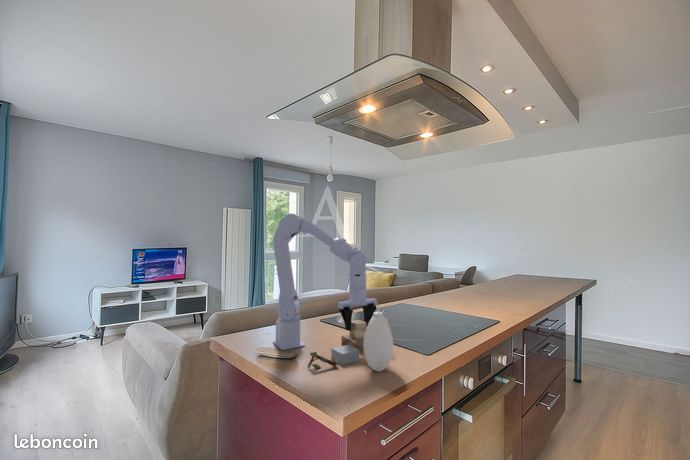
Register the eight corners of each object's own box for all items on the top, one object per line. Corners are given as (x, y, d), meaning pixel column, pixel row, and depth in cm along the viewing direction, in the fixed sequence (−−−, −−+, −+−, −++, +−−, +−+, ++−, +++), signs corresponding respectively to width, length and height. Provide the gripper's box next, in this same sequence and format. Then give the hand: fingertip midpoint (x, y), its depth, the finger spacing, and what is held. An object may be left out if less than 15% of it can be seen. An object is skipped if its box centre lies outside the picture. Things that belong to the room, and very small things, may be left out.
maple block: (349, 336, 105) (349, 321, 105) (359, 334, 107) (359, 319, 107) (356, 339, 102) (356, 324, 102) (366, 337, 104) (366, 322, 104)
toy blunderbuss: (304, 364, 86) (311, 349, 87) (330, 375, 87) (337, 359, 88) (304, 367, 84) (311, 351, 85) (331, 377, 85) (338, 362, 86)
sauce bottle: (378, 362, 90) (377, 299, 91) (399, 370, 84) (398, 303, 85) (358, 369, 85) (357, 302, 86) (378, 378, 79) (378, 306, 80)
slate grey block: (331, 358, 93) (331, 348, 93) (348, 354, 96) (348, 344, 97) (341, 364, 88) (341, 354, 88) (359, 360, 91) (359, 350, 91)
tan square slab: (341, 345, 106) (341, 336, 106) (360, 341, 110) (360, 332, 110) (354, 351, 99) (354, 342, 99) (374, 347, 103) (374, 338, 103)
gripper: (345, 290, 98) (345, 334, 97) (382, 287, 106) (382, 327, 105) (334, 287, 104) (334, 329, 103) (369, 284, 112) (369, 323, 111)
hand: (357, 328), depth 105 cm, fingers open, 7 cm apart
